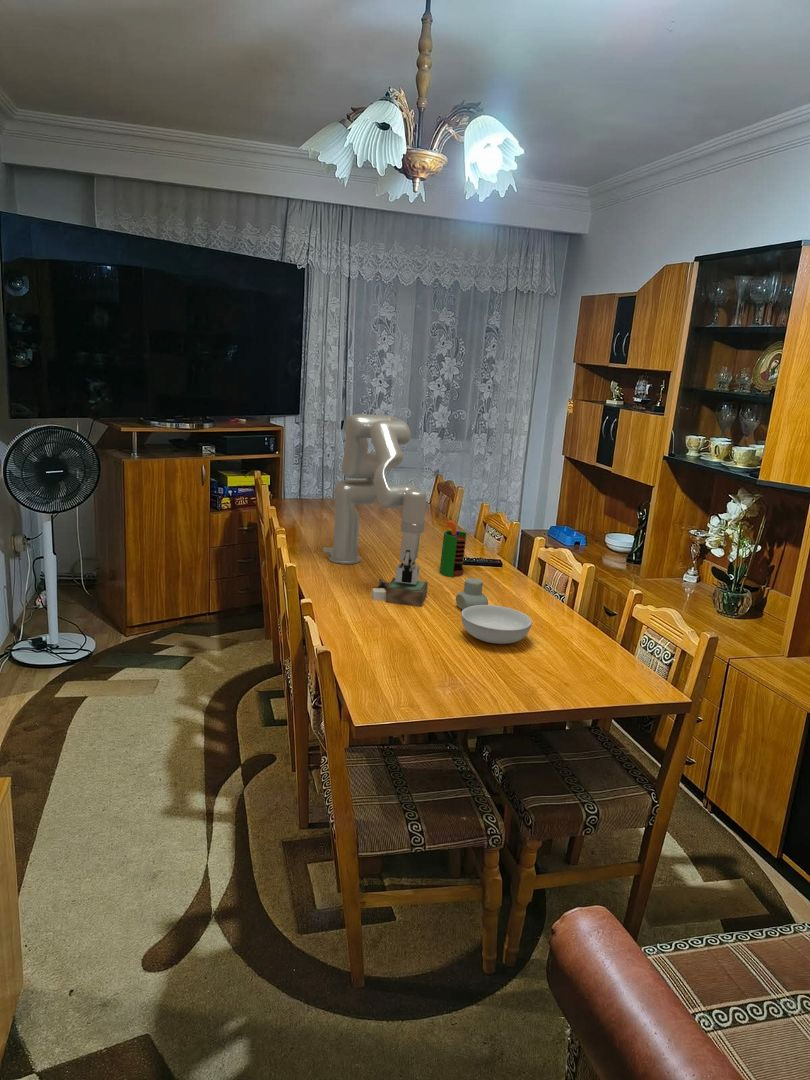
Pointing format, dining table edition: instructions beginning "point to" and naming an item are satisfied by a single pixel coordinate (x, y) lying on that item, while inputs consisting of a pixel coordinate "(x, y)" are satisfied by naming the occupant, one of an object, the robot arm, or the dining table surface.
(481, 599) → the grey pipe tee
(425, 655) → the dining table surface
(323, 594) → the dining table surface
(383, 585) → the loose bolt
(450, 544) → the motor
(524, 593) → the dining table surface
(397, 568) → the housing
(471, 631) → the serving bowl
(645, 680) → the dining table surface
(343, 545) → the robot arm
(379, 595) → the block
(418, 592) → the plinth
